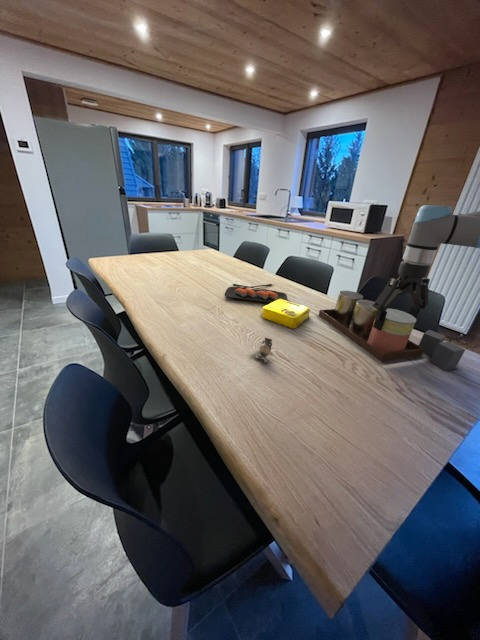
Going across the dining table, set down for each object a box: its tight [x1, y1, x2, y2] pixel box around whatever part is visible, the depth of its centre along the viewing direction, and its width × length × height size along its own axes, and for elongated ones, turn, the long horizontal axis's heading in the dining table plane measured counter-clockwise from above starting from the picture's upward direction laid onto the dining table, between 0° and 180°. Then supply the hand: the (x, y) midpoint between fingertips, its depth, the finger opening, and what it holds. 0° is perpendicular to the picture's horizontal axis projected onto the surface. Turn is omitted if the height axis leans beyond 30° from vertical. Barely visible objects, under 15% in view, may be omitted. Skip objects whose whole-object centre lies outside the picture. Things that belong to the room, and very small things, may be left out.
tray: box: [318, 308, 424, 363], centre depth 98 cm, size 34×17×3 cm, turn 18°
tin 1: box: [333, 290, 364, 325], centre depth 106 cm, size 9×9×11 cm
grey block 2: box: [429, 341, 466, 371], centre depth 82 cm, size 5×5×7 cm
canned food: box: [367, 307, 417, 354], centre depth 87 cm, size 11×11×12 cm
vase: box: [252, 337, 273, 363], centre depth 79 cm, size 5×5×6 cm
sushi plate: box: [224, 283, 288, 304], centre depth 131 cm, size 29×30×4 cm
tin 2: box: [349, 299, 379, 337], centre depth 97 cm, size 9×9×11 cm
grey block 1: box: [418, 329, 447, 356], centre depth 89 cm, size 5×5×7 cm
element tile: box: [261, 299, 311, 329], centre depth 107 cm, size 15×15×5 cm
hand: (393, 326), depth 86 cm, fingers open, 13 cm apart
